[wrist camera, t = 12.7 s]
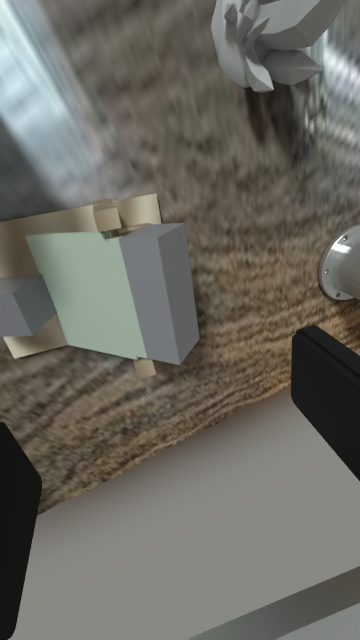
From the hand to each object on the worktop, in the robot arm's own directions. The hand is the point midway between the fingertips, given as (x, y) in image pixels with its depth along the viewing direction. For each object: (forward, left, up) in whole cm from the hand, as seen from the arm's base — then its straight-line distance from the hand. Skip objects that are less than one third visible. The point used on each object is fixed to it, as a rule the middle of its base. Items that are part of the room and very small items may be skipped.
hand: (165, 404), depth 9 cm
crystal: (-20, -18, -31) cm, 41 cm away
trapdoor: (-1, +5, -26) cm, 26 cm away
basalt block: (+10, +5, -25) cm, 27 cm away
